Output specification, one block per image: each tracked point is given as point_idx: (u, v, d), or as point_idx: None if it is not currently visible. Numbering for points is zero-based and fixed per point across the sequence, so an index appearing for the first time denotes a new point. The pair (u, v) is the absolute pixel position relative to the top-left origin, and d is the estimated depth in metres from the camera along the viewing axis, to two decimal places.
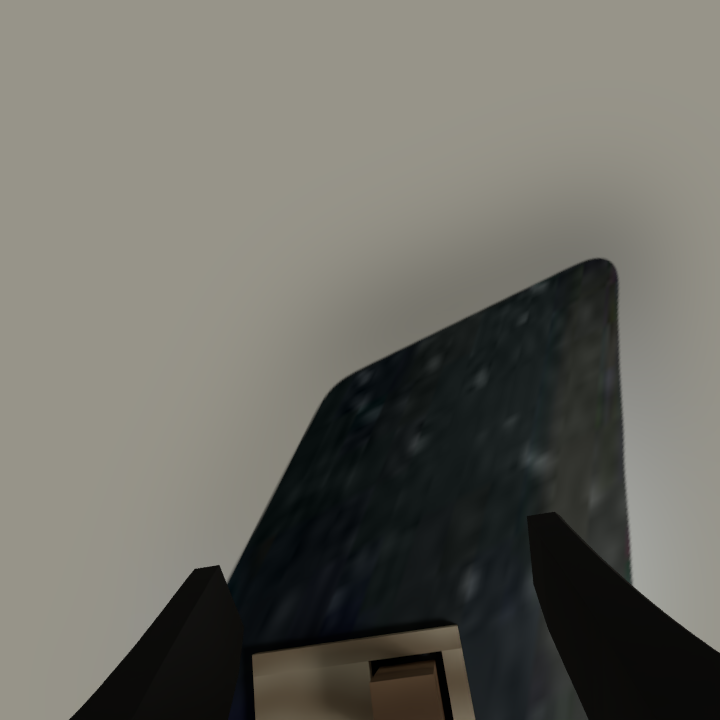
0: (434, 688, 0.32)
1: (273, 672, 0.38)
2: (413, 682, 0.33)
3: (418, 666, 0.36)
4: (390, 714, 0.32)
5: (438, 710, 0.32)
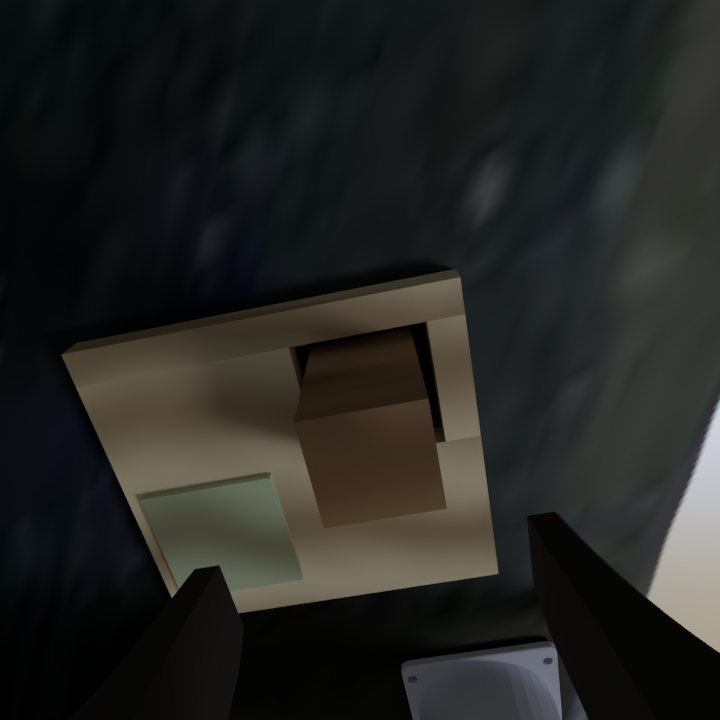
0: (429, 421, 0.16)
1: (112, 378, 0.20)
2: (386, 415, 0.16)
3: (385, 356, 0.19)
4: (341, 466, 0.16)
5: (435, 453, 0.16)
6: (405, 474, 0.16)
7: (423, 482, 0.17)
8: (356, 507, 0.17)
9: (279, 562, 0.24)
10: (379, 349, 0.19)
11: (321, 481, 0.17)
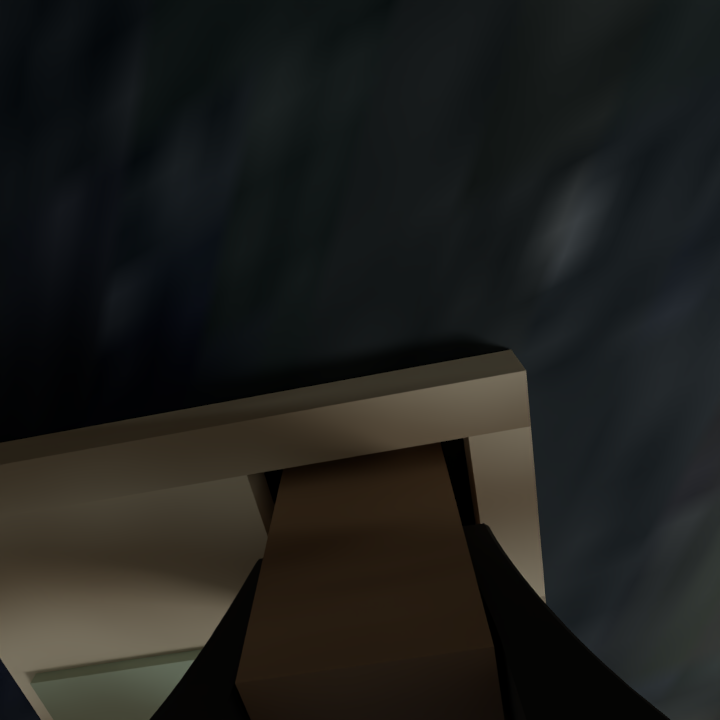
0: (493, 681, 0.08)
1: None
2: (411, 671, 0.08)
3: (402, 501, 0.11)
4: None
5: None
6: None
7: None
8: None
9: None
10: (392, 482, 0.12)
11: None
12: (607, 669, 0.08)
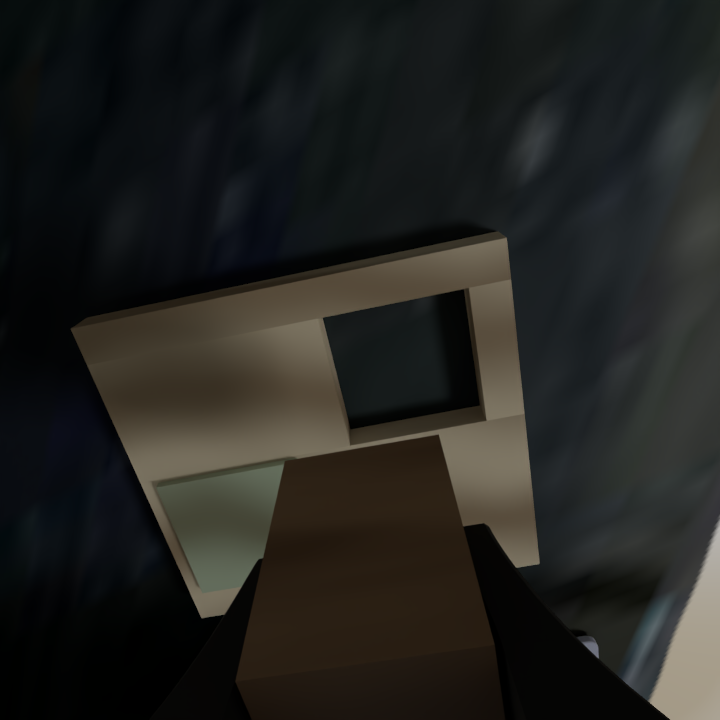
0: (494, 679, 0.08)
1: (126, 354, 0.19)
2: (412, 669, 0.08)
3: (403, 499, 0.11)
4: None
5: None
6: None
7: None
8: None
9: None
10: (392, 481, 0.12)
11: None
12: (607, 669, 0.08)
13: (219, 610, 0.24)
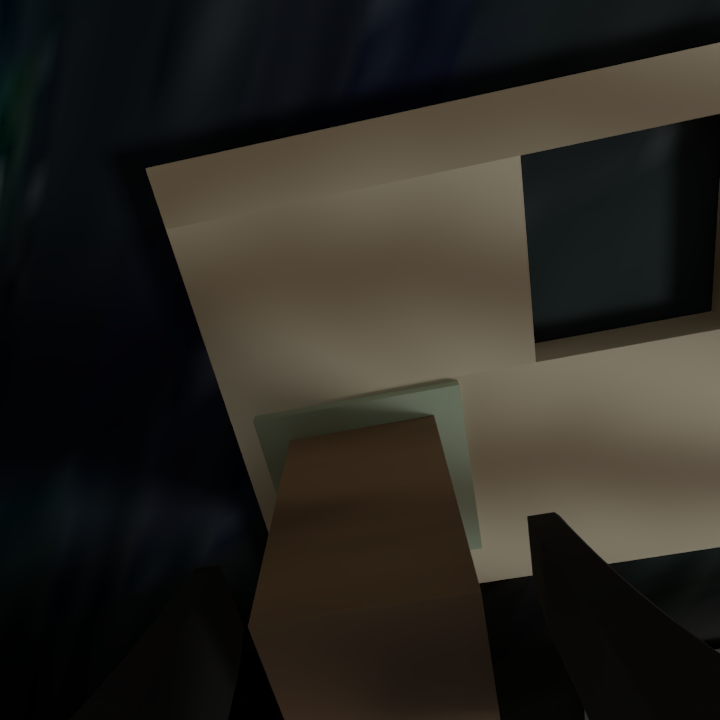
0: (481, 625, 0.09)
1: (225, 212, 0.13)
2: (407, 615, 0.09)
3: (400, 472, 0.12)
4: (331, 686, 0.10)
5: (489, 669, 0.10)
6: (437, 699, 0.10)
7: (467, 708, 0.10)
8: None
9: None
10: (390, 456, 0.13)
11: (297, 707, 0.10)
12: (719, 654, 0.07)
13: None
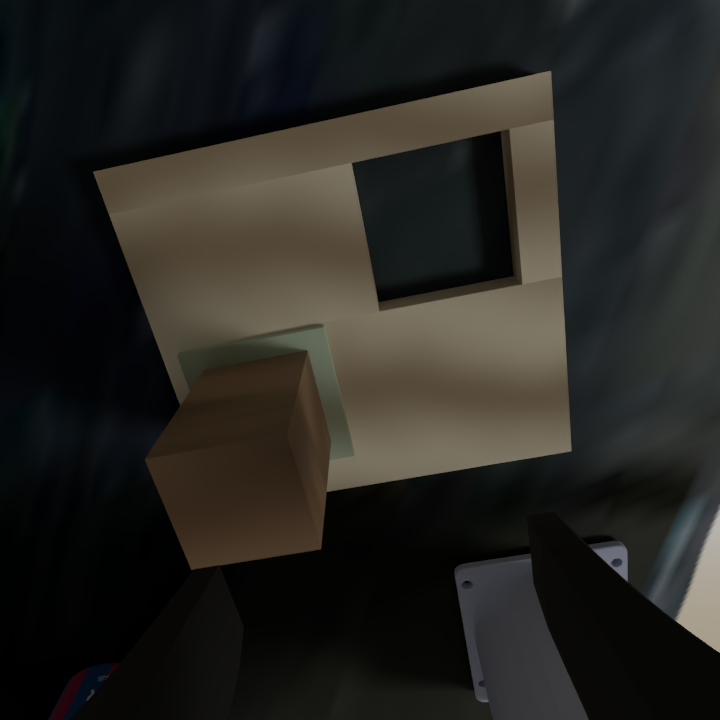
0: (291, 458, 0.15)
1: (149, 202, 0.18)
2: (243, 451, 0.14)
3: (269, 382, 0.18)
4: (202, 504, 0.15)
5: (301, 492, 0.15)
6: (272, 513, 0.15)
7: (292, 522, 0.15)
8: (223, 548, 0.16)
9: (329, 434, 0.21)
10: (267, 374, 0.18)
11: (182, 521, 0.15)
12: (719, 654, 0.07)
13: None
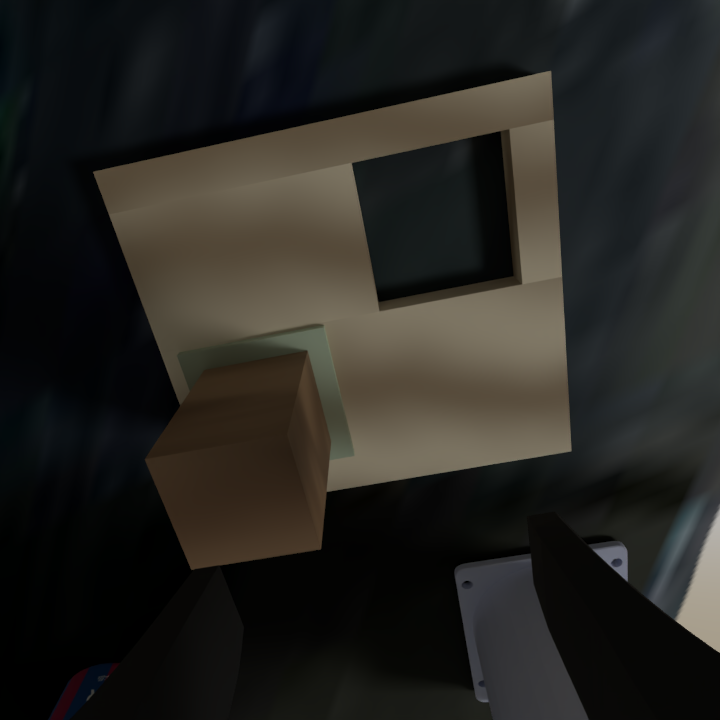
0: (291, 458, 0.15)
1: (149, 202, 0.18)
2: (243, 451, 0.14)
3: (269, 382, 0.18)
4: (202, 504, 0.15)
5: (301, 492, 0.15)
6: (272, 513, 0.15)
7: (292, 522, 0.15)
8: (223, 548, 0.16)
9: (329, 434, 0.21)
10: (267, 374, 0.18)
11: (182, 521, 0.15)
12: (719, 654, 0.07)
13: None
